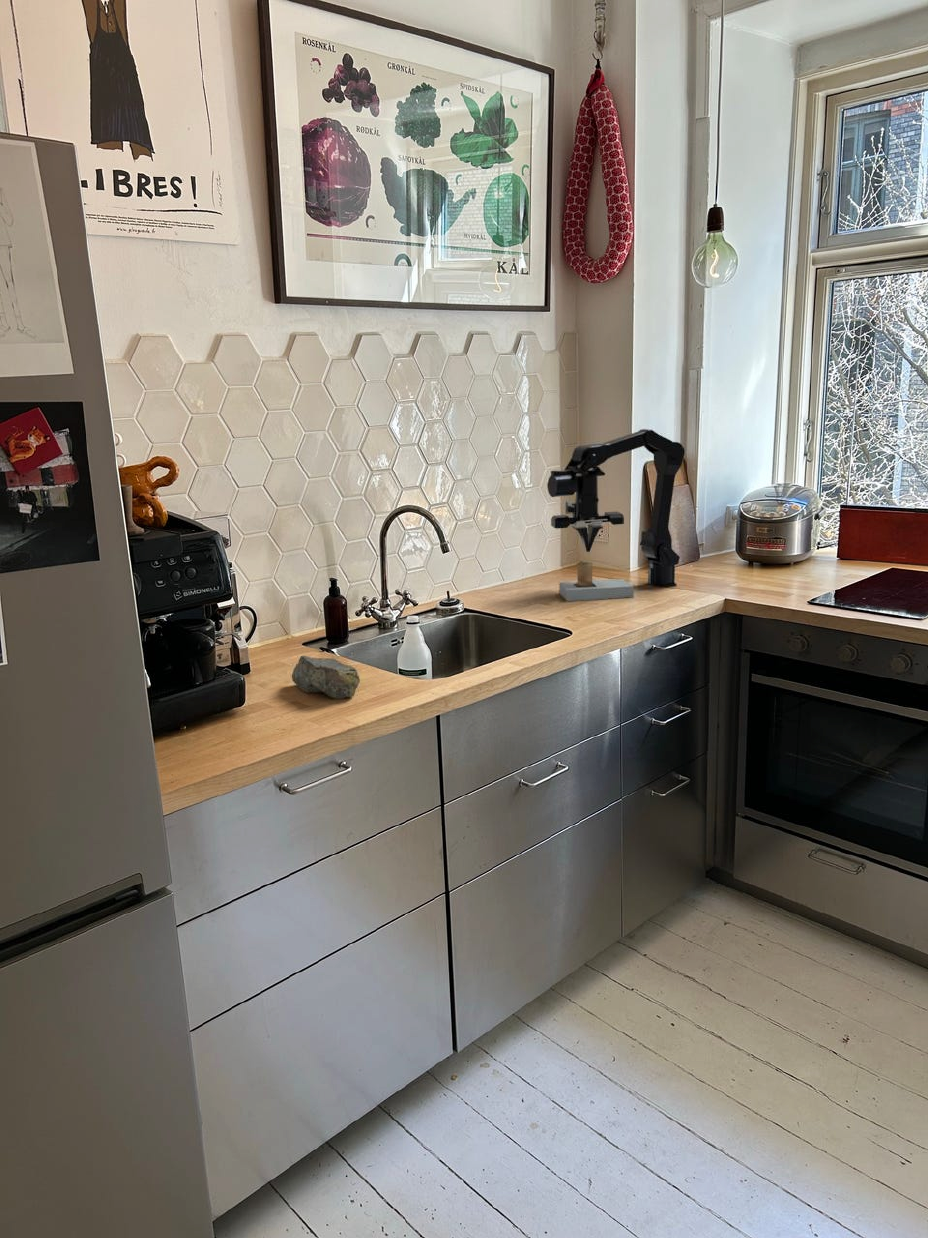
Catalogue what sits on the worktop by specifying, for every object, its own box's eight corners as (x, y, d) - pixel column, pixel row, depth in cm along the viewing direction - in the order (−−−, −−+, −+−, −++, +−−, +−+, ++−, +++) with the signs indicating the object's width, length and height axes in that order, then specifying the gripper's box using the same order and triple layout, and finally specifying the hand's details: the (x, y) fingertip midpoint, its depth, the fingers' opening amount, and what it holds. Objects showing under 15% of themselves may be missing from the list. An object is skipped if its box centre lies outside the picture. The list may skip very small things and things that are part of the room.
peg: (590, 593, 243) (590, 561, 241) (594, 597, 239) (594, 564, 237) (575, 594, 242) (575, 562, 240) (579, 598, 238) (578, 565, 236)
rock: (377, 668, 170) (340, 668, 162) (372, 703, 170) (334, 705, 162) (316, 652, 180) (278, 651, 172) (311, 685, 180) (273, 686, 172)
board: (623, 589, 246) (623, 578, 246) (633, 597, 237) (633, 586, 236) (559, 593, 245) (559, 582, 244) (566, 601, 235) (566, 590, 235)
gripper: (613, 488, 245) (613, 544, 248) (546, 492, 243) (547, 549, 247) (624, 492, 234) (624, 551, 238) (554, 497, 232) (556, 556, 236)
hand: (587, 551), depth 240 cm, fingers closed
